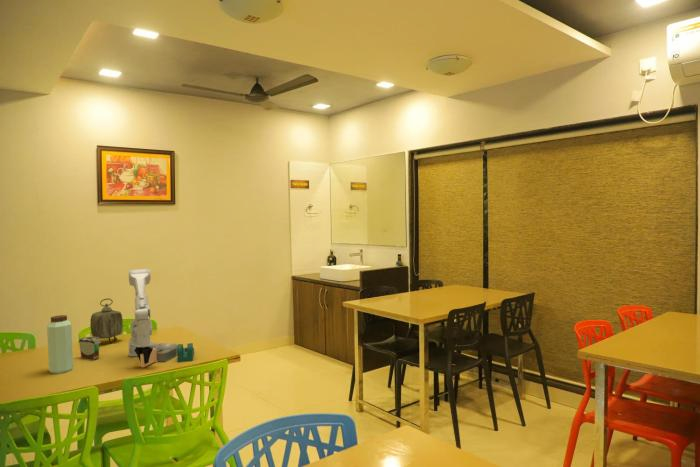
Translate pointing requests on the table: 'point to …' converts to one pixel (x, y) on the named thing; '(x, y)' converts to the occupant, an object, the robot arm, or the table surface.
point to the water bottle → (60, 344)
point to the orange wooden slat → (152, 358)
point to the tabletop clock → (106, 323)
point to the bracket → (185, 353)
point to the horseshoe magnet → (166, 352)
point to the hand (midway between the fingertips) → (144, 363)
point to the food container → (89, 348)
